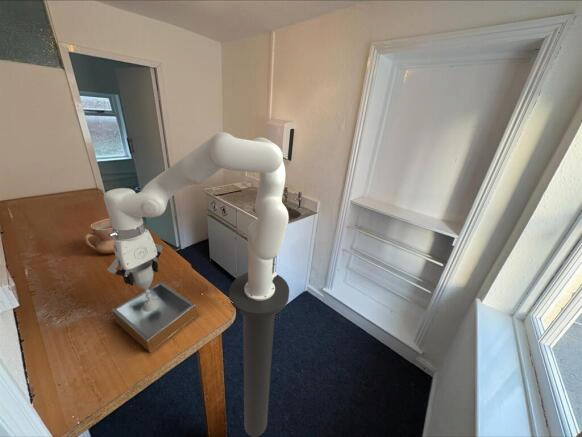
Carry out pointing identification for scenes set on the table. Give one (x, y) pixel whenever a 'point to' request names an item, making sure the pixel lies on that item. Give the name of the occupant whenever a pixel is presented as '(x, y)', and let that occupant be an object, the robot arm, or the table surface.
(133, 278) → the chalice
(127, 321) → the grey rectangular tray
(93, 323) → the table surface
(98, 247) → the ceramic jug
